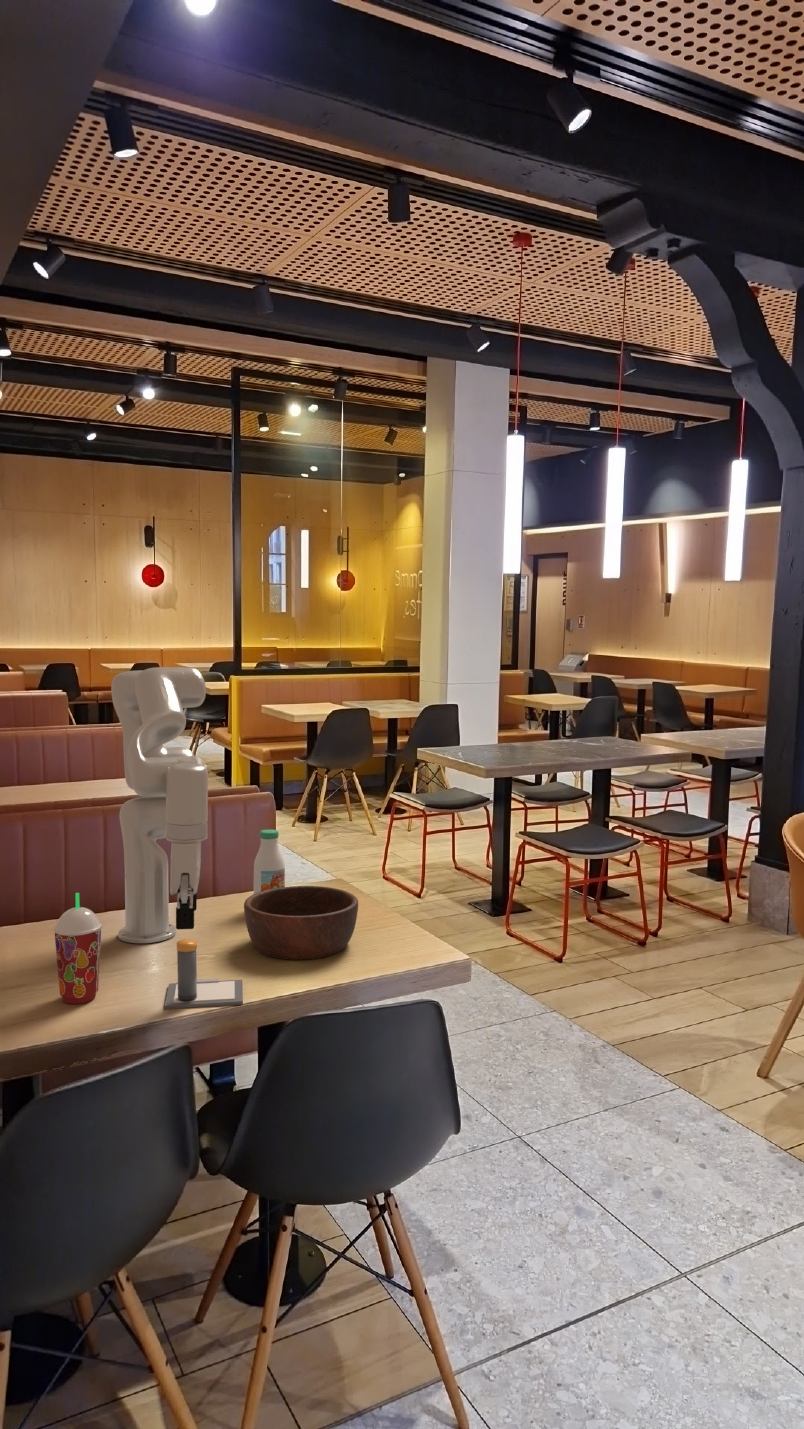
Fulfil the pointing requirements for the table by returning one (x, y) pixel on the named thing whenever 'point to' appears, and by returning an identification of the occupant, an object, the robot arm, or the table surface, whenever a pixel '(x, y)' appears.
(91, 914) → the smoothie
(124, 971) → the table surface
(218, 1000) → the clipboard
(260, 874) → the milk bottle
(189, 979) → the orange topped gray cylinder
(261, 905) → the wooden bowl
